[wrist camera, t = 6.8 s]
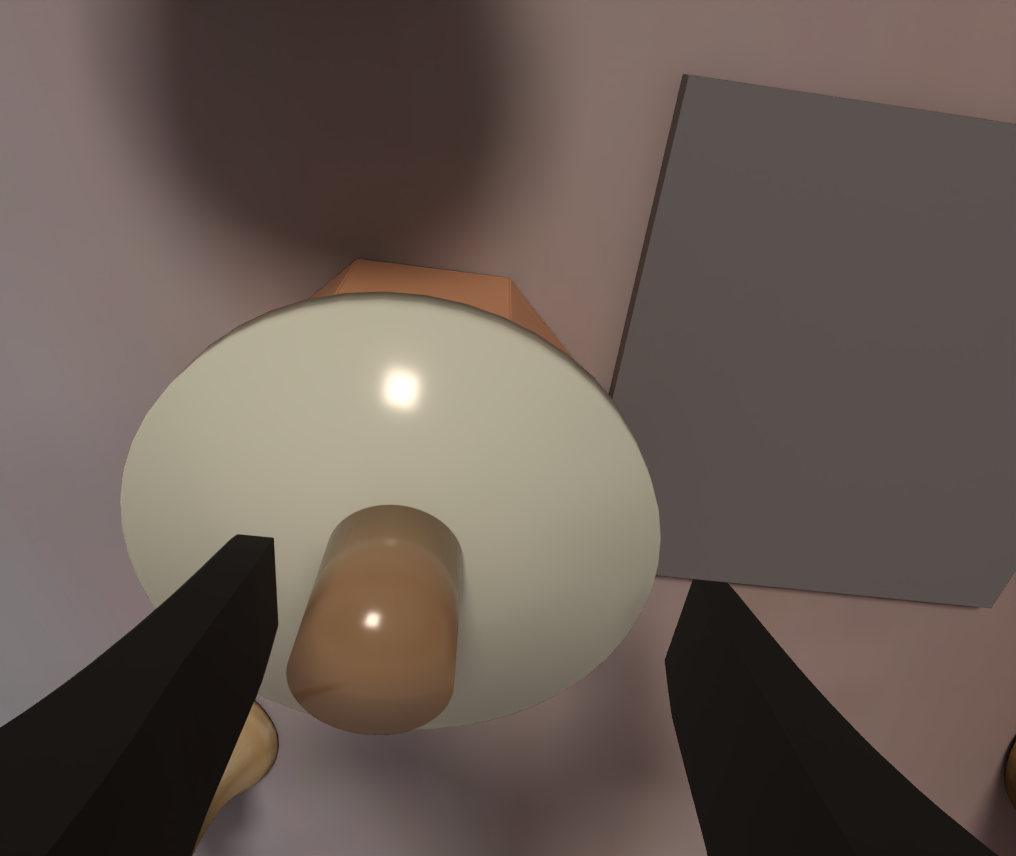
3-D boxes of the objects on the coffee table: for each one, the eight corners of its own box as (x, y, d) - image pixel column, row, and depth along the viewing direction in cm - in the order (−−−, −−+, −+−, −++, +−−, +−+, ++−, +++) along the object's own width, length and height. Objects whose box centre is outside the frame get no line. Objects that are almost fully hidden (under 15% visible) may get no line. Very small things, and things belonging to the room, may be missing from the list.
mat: (1259, 161, 18) (1282, 165, 17) (980, 596, 25) (990, 608, 25) (682, 73, 17) (688, 75, 16) (571, 555, 24) (573, 567, 24)
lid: (754, 422, 16) (835, 554, 12) (523, 742, 21) (527, 902, 18) (200, 189, 13) (74, 261, 9) (104, 624, 19) (1, 781, 15)
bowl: (615, 290, 19) (646, 368, 15) (555, 565, 24) (566, 682, 20) (246, 243, 19) (168, 312, 14) (262, 536, 24) (208, 652, 19)
